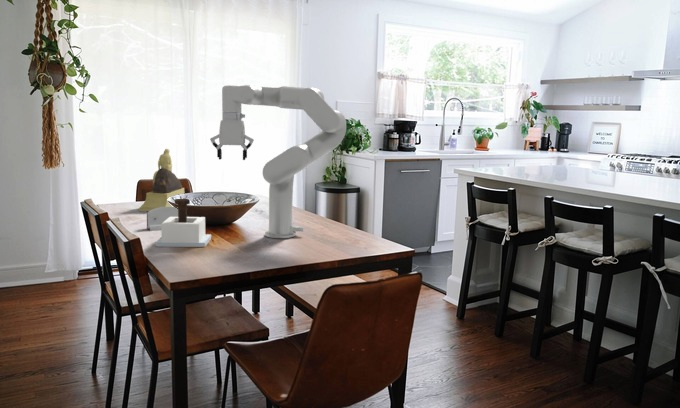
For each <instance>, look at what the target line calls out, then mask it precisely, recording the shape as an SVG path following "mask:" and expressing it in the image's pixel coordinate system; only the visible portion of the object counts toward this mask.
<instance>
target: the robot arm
mask: <svg viewBox="0 0 680 408" xmlns="http://www.w3.org/2000/svg"><path fill="white" fill-rule="evenodd" d="M221 93H222V94H221V98H222V99H221V102H222V105H221V107H222V109H221V110H222V111H221V113H222V118H221V120H220V123H219V131H218V134H217V135H215V136H213V137H211V138H209V139H210V142H211V144H212V146H213V147H215V149H216V150H217V151H216V152H217V158H218V160H222V158H223V157H222V156H223V155H222V154H223V153H222V151H223V150H222V147H223V146H241V148H243V150H242V160H243V161H245V160H246V159H247V158H248V149H250V147H251V146H252V145H253V143H254V141H255V140H254V138H252V137H250V136H249V135H247V134H246V130H245V122H244V120H242V119H243V118H246V114H244V113H242V105H249V106H266V107H278V108H280V109H289V110H291V109H292V110H302V111H304V112H305V113H306V115H307V116H308V117H309V118H310V119H311V120H312V121H313V122H314V123H315V125H316V126H317V127H318V128H319V129H320V130H322V131H321V132H319V133H317V134H315V135H314V136H313V137H311V138H310V139H308V140H307V141H305V142H303V143H300V144H295V145H293V146H291V147H289V148H287V149H286V150H285V151H283V152H282V153H279V154H278V155H277V156H275V157H273V158H272V159H270V160H269V161H267V162H266V163H265V164H264V166H263V168H262V177H263V179H264V181H266V182H267V183H268V184H269V189H268V230H266V231H265V233H264V236H265V237H266V238H267V237H268V238H270V239H291V238H294V237H296V235H297V233H296V232H299V233H300V232H301V233H302V232H304V227H303V226H297V225H296V226H295V225H294V222H293V201H294V200H293V199H294V198H293V195H294V193H293V192H294V182H295V181H294V180H295V179H294V178H295V175H296V174H297V173H300V172H301V171H304V169H307V168H309V167H310V166H311V165H312V164H313V163H315V162H316V161H318V160H320V159H322V158H323V157H324V156H326V155H328V154H329V153H330V152H332V151H333V150H335V149H336V148H337V147H338V146H339V145H341V143H342V141H343V140H344V138H345V136H346V133H347V120H346V117H345V115H344V114H343V113H342V112H340V111H339V110H336V109H335V110H334V108H332V106H331V105H329V104H328V102H327V101H326V100H325V96H324V94H323V92H322V91H321V90H320V89H318V88H315V87H296V86H280V87H268V86H267V87H266V86H256V85H250V84H245V85H229V84H228V85H224V86H222V89H221ZM217 139H218V143H219V144H218V143H216V140H217ZM246 140H247V141H248V144H247V145H246Z"/></svg>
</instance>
